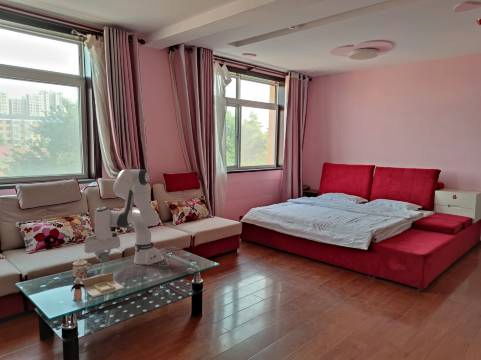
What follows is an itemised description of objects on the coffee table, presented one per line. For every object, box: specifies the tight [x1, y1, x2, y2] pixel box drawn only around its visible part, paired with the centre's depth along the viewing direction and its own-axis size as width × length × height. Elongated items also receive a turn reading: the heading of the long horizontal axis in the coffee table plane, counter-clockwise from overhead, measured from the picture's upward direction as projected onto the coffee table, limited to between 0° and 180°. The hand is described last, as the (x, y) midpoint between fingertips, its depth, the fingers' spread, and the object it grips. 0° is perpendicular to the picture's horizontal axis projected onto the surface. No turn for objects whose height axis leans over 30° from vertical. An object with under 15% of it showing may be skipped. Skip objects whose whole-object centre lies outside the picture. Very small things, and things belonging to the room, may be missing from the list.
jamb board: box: [73, 272, 125, 298], centre depth 211 cm, size 19×29×6 cm, turn 45°
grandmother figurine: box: [70, 277, 86, 302], centre depth 191 cm, size 8×4×13 cm, turn 126°
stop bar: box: [96, 250, 110, 264], centre depth 204 cm, size 8×4×5 cm, turn 44°
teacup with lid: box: [72, 258, 93, 278], centre depth 227 cm, size 12×9×12 cm
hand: (102, 257), depth 204 cm, fingers closed on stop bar, 4 cm apart
